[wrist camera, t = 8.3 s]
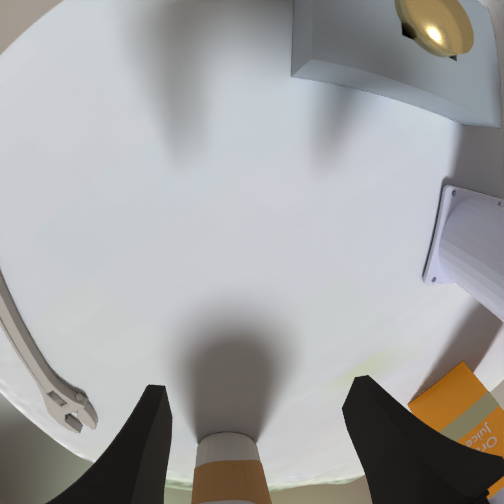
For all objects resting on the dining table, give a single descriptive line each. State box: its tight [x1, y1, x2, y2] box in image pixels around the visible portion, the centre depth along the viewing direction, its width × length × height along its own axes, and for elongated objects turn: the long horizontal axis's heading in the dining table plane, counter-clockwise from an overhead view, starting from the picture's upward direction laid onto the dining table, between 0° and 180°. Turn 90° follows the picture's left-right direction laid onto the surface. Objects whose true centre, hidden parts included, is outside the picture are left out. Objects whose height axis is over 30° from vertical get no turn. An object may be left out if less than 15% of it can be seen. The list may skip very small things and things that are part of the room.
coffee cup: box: [191, 432, 272, 504], centre depth 19 cm, size 8×8×15 cm
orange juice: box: [408, 361, 504, 499], centre depth 18 cm, size 8×9×20 cm
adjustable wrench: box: [0, 272, 98, 433], centre depth 18 cm, size 25×6×2 cm, turn 5°
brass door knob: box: [395, 0, 474, 57], centre depth 10 cm, size 5×5×6 cm
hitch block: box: [291, 0, 502, 129], centre depth 11 cm, size 14×10×4 cm
